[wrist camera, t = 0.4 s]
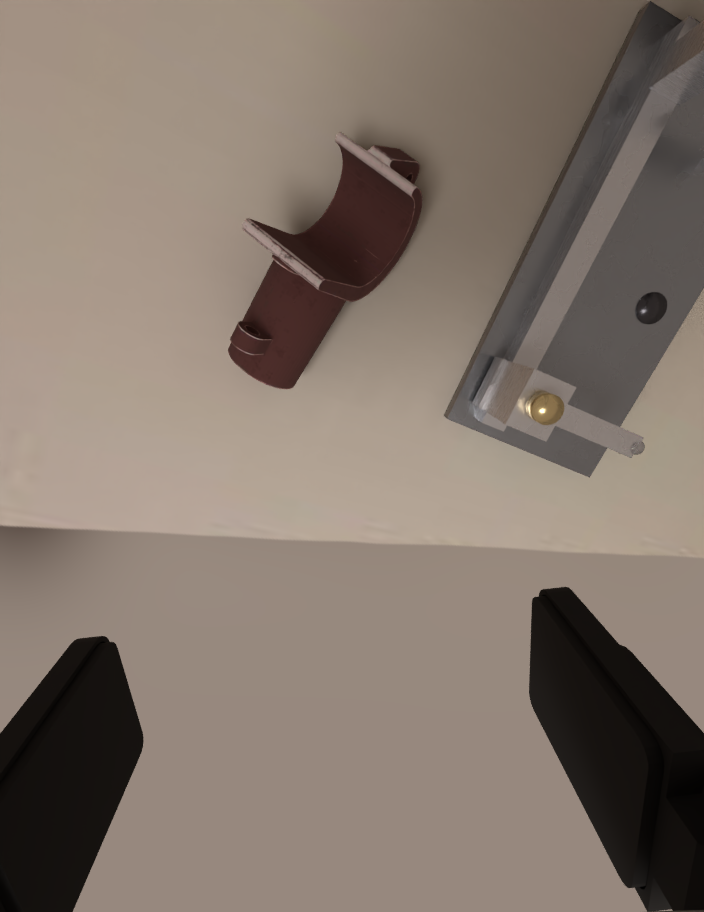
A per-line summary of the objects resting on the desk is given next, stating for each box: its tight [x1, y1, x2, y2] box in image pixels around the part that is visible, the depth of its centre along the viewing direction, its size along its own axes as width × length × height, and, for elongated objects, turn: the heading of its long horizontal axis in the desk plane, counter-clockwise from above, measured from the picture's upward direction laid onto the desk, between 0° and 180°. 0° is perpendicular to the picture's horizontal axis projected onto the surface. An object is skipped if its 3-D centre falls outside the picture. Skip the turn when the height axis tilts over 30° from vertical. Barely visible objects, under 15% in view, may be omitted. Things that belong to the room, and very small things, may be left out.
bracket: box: [228, 132, 422, 389], centre depth 31 cm, size 6×17×10 cm, turn 147°
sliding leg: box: [472, 357, 645, 458], centre depth 33 cm, size 4×10×8 cm, turn 67°
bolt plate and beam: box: [444, 1, 704, 477], centre depth 32 cm, size 30×14×8 cm, turn 157°
